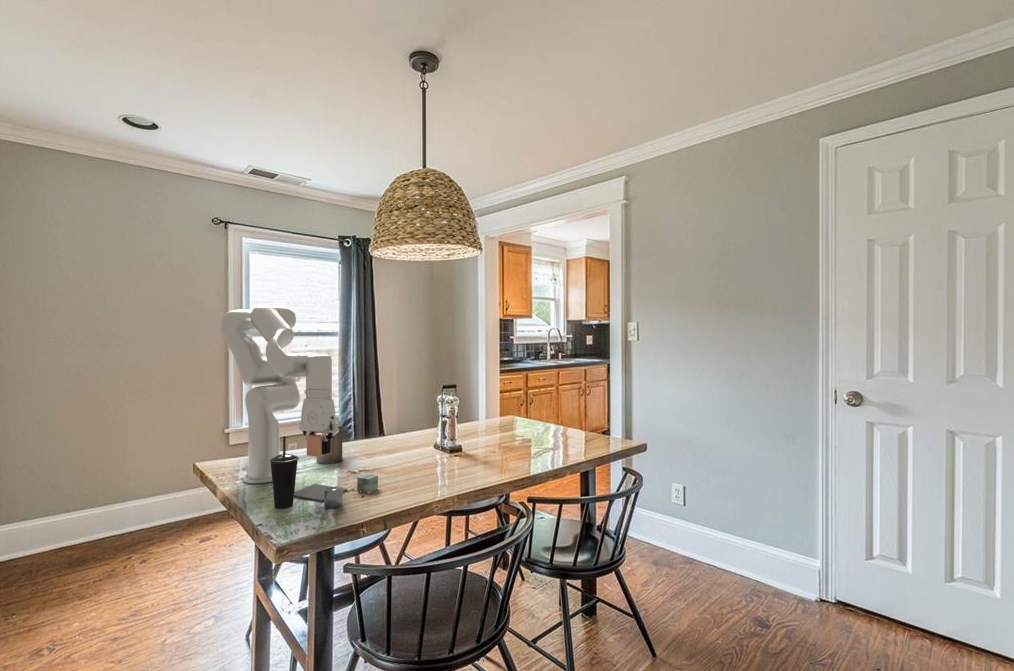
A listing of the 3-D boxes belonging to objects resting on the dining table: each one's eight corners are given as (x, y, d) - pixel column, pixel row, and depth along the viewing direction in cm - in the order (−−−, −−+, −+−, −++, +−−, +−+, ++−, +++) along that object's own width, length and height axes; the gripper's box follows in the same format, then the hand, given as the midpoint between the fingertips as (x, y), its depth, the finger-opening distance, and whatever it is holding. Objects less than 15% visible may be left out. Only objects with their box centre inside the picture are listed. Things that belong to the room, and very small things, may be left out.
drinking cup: (302, 501, 143) (302, 433, 143) (292, 510, 135) (292, 439, 135) (276, 501, 143) (276, 433, 143) (264, 510, 135) (264, 439, 135)
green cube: (357, 491, 152) (357, 477, 152) (366, 487, 156) (366, 473, 156) (369, 493, 151) (369, 479, 151) (377, 489, 155) (377, 475, 155)
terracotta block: (306, 455, 148) (306, 435, 148) (318, 451, 153) (318, 432, 153) (319, 456, 147) (319, 437, 147) (331, 453, 151) (331, 434, 151)
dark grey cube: (320, 508, 138) (320, 490, 138) (332, 502, 142) (332, 485, 142) (334, 510, 136) (334, 492, 136) (346, 504, 141) (346, 487, 141)
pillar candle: (346, 457, 193) (346, 420, 193) (335, 464, 183) (335, 424, 183) (323, 457, 194) (323, 419, 194) (311, 463, 184) (311, 424, 184)
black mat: (288, 496, 147) (288, 494, 147) (314, 485, 157) (314, 483, 157) (322, 502, 142) (322, 500, 142) (347, 490, 153) (347, 488, 153)
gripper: (288, 394, 149) (288, 453, 149) (332, 396, 143) (332, 458, 143) (306, 391, 156) (306, 447, 156) (349, 393, 150) (349, 452, 150)
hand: (319, 452), depth 150 cm, fingers closed on terracotta block, 5 cm apart
